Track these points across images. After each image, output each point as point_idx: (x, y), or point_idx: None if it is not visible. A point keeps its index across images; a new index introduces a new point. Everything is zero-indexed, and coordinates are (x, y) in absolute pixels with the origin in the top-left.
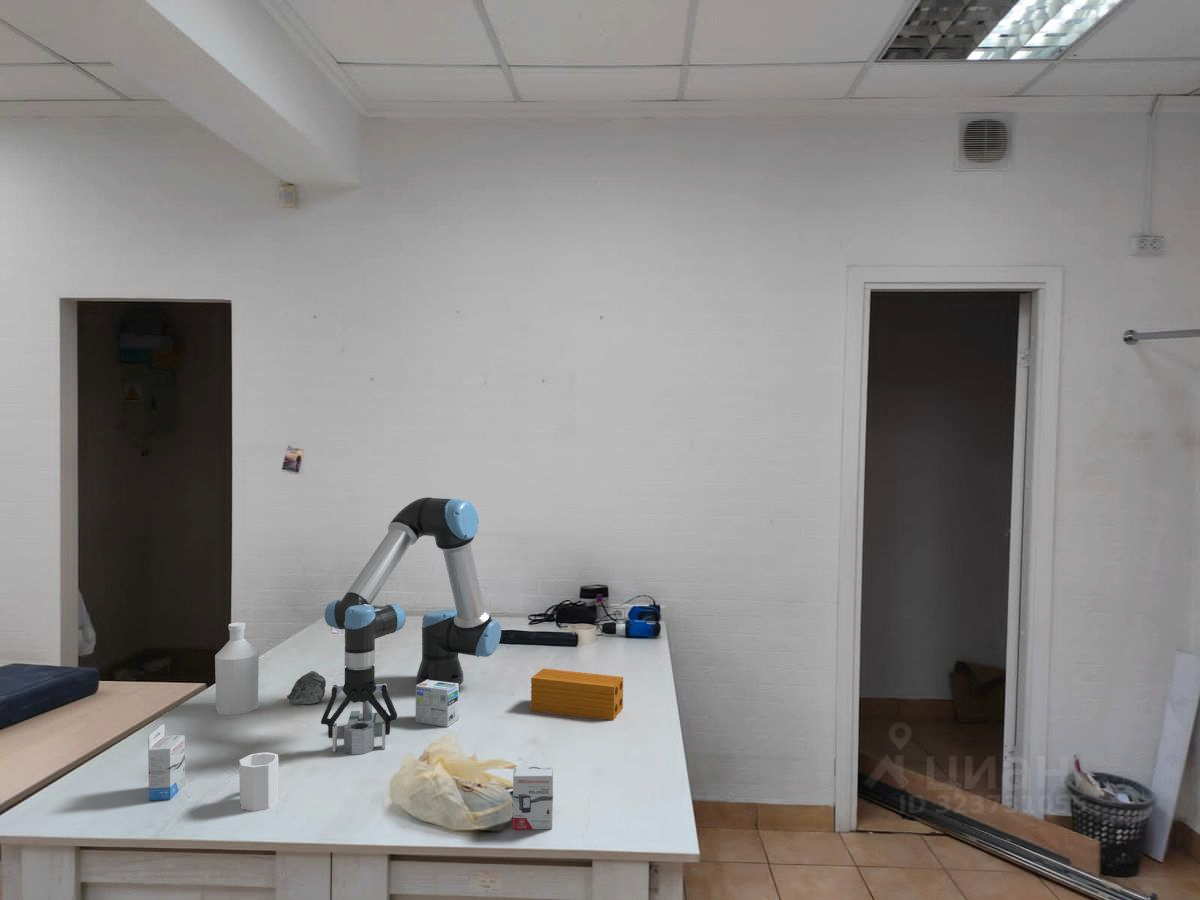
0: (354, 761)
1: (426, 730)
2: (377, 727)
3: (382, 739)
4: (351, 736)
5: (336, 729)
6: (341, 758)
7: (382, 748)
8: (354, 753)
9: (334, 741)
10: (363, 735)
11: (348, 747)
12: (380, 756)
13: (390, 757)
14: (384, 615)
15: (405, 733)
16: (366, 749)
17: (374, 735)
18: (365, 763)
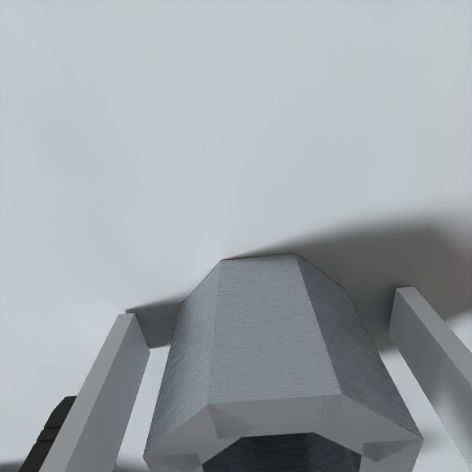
0: (260, 148)
1: (27, 453)
2: None
3: (111, 358)
4: (330, 349)
5: (467, 443)
6: (356, 202)
7: (131, 314)
8: (279, 257)
9: (441, 336)
10: (219, 360)
11: (327, 293)
12: (106, 224)
13: (32, 206)
14: None
15: None
16: (209, 285)
17: None
18: (168, 105)
